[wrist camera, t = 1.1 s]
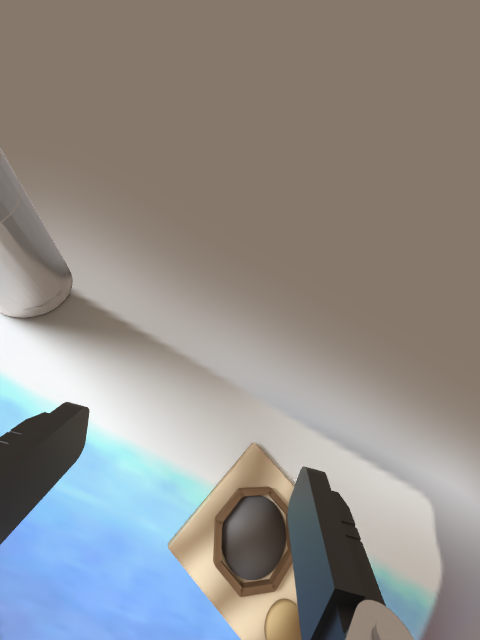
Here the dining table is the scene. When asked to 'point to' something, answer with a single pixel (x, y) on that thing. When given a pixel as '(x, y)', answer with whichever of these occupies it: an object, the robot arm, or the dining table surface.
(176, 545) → the board
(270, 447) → the dining table surface
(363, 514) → the dining table surface
